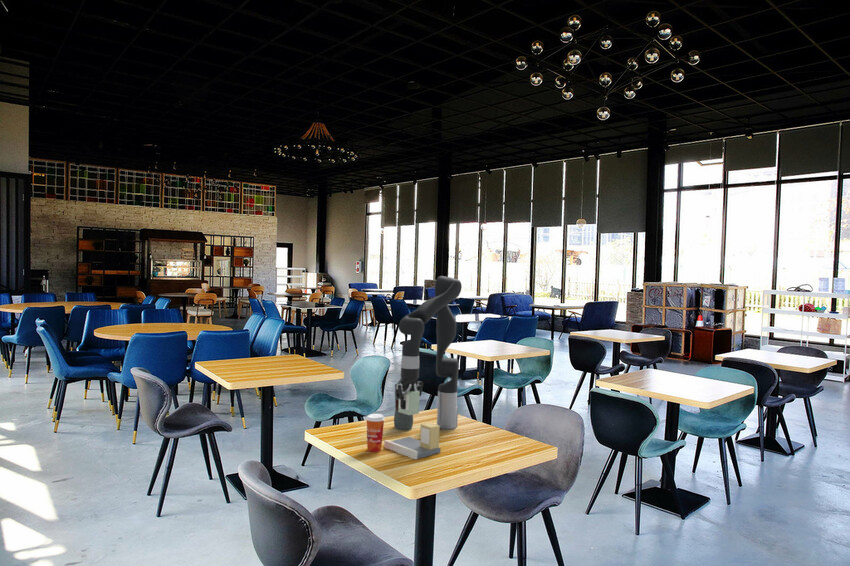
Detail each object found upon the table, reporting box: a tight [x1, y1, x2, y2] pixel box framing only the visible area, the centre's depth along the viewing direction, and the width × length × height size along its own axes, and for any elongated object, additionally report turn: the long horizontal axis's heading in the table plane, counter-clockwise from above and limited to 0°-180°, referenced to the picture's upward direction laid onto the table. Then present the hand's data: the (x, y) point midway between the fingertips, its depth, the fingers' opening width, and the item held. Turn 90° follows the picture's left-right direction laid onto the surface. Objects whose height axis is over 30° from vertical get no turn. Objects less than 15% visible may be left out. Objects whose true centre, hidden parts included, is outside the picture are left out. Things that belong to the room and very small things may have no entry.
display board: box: [383, 436, 441, 460], centre depth 222 cm, size 14×19×3 cm
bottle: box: [393, 378, 414, 431], centre depth 254 cm, size 9×9×30 cm
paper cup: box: [365, 413, 386, 453], centre depth 220 cm, size 8×8×14 cm
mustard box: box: [419, 422, 440, 450], centre depth 220 cm, size 5×6×9 cm
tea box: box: [398, 391, 420, 416], centre depth 220 cm, size 5×7×9 cm
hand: (408, 408), depth 220 cm, fingers closed on tea box, 5 cm apart
